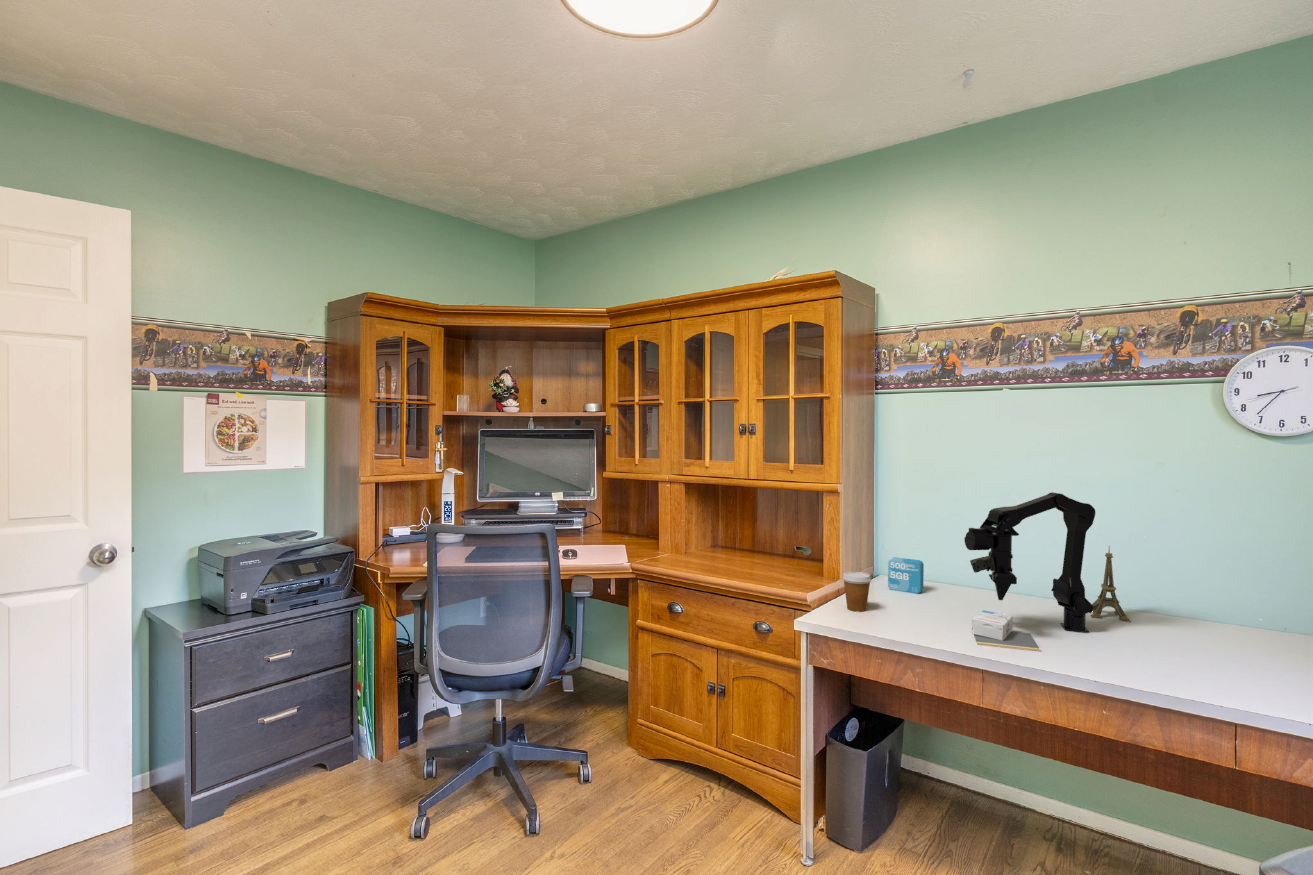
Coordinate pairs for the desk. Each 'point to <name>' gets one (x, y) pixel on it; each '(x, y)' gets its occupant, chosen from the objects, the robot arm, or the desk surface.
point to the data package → (905, 575)
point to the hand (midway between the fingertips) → (1000, 599)
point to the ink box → (992, 625)
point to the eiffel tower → (1102, 598)
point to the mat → (1010, 641)
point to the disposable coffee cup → (856, 590)
